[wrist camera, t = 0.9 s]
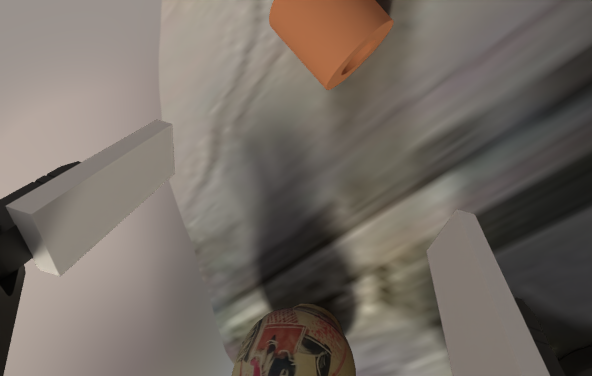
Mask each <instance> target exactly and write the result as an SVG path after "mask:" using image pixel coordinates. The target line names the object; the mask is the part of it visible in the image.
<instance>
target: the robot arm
mask: <svg viewBox="0 0 592 376" xmlns="http://www.w3.org/2000/svg"><path fill="white" fill-rule="evenodd" d="M174 174H175V164H174V146H173V129H172V124H170V123H167V122H164V121H160V120H155V121H153V122H152V123H150V124H148V125H146V126H145V127H143V128H141V129H139V130H137V131H136V132H134V133H132V134H131V135H129V136H127V137H125V138H124V139H122V140H120V141H118V142H116V143H115V144H113V145H111V146H109V147H108V148H106V149H104V150H102V151H101V152H99V153H97V154H95V155H94V156H92V157H91V158H88V159H87V160H85V161H83V162H79V161H77V162H74V163H71V164H67V165H64V166H61V167H59V168H57V169H55V170H54V171H52V172H50V173H48V174H47V176H42V177H41V178H39V179H37V180H36V181H35V182H31V183H30V184H28V185H26V186H24V187H22V188H21V189H19V190H17V191H15V192H13V193H11V194H9V195H8V196H6V197H4V198H2V199H0V376H3V374H4V370H5V365H6V361H7V356H8V351H9V347H10V342H11V337H12V333H13V328H14V324H15V319H16V314H17V310H18V305H19V301H20V296H21V291H22V287H23V282H24V277H25V267H24V264H25V263H26V262H28V261H29V260H30V259H31V258H33V259H34V261H35V263H36V265H37V267H38V269H39V270H42V271H45V272H48V273H51V274H54V275H56V276H61V275H62V274H64V273H65V272H66V271H67V270H68V269H69V268H70V267H71V266H73V264H75V263H76V262H77V261H78V260H79V259H80V258H81V257H82V256H84V255H85V254H86V253H87V252H88V251H89V250H90V249H91V248H92V247H94V246H95V245H96V244H97V243H98V242H99V241H100V240H101V239H103V238H104V237H105V236H106V235H107V234H108V233H109V232H110V231H111V230H113V229H114V228H115V227H116V226H117V225H118V224H119V223H120V222H122V221H123V220H124V218H126V217H127V216H128V215H129V214H130V213H131V212H133V211H134V210H135V209H136V208H137V207H138V206H139V205H140V204H141V203H143V202H144V201H145V200H146V199H147V198H148V197H149V196H150V195H151V194H153V193H154V192H155V191H156V190H157V189H158V188H159V187H160V186H162V185H163V183H165V182H166V181H167V180H168V179H169V178H170V177H172V176H173V175H174ZM427 256H428V261H429V265H430V270H431V275H432V280H433V284H434V289H435V294H436V298H437V303H438V308H439V312H440V317H441V322H442V327H443V331H444V336H445V341H446V345H447V350H448V355H449V360H450V364H451V369H452V374H453V376H592V346H591V347H587V348H584V349H581V350H578V351H575V352H573V353H571V354H569V355H567V356H565V357H564V358H562V359H561V360H560V361H558V360H557V358H556V356H555V354H554V352H553V350H552V348H550V347H549V345H550V344H549V342H548V340H547V338H546V336H545V334H543V333H542V332H543V330H542V328H541V326H540V324H539V322H538V321H537V319H536V317H535V315H534V314H533V312H532V311H531V310H530V309H529V308H528V306H527V305H526V304H525V303H524V302H523V300H522V299H518V298H515V297H513V295H512V293H511V291H510V289H509V287H508V285H507V283H506V280H505V278H504V276H503V274H502V272H501V270H500V268H499V265H498V263H497V261H496V259H495V257H494V255H493V253H492V251H491V248H490V246H489V244H488V242H487V240H486V238H485V236H484V233H483V231H482V229H481V227H480V225H479V223H478V221H477V219H476V216H475V214H472V213H469V212H465V211H462V210H458V209H456V211H455V212H454V214H453V215H452V216H451V218H450V219H449V221H448V222H447V223H446V225H445V226H444V227H443V229H442V230H441V232H440V233H439V234H438V236H437V237H436V239H435V240H434V241H433V243H432V244H431V246H430V247H429V248H428V250H427Z"/></svg>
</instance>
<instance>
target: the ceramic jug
mask: <svg viewBox="0 0 592 376" xmlns="http://www.w3.org/2000/svg"><path fill="white" fill-rule="evenodd" d="M260 319H261V318H260ZM232 376H356V368H355V363H354V359H353V354H352V351H351V349H350V346H349V344H348V341H347V339H346V338H345V336H344V335H343V333H342V328H341V326H340V323H339V321H338V320H337V319H336V318H335V317H334V316H333V315H332V314H331V313H330V312H329V311H327V310H326V309H324V308H321V307H319V306H317V305H314V304H306V303H303V304H298V305H296V306H294V307H292V308H283V309H279V310H275V311H273V312H271V313H269V314H267V315H266V316H264V317H263V318H262V319H261V320H259V321H258V322H257V323H256V324H255V325H254V327H253V328H252V329H251V330H250V332H249V334H248V335H247V337H246V339H245V341H244V342H243V343H242V347H241V349H240V351H239V353H238V356H237V359H236V362H235V365H234V368H233V372H232Z"/></svg>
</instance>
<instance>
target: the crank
mask: <svg viewBox="0 0 592 376" xmlns="http://www.w3.org/2000/svg"><path fill="white" fill-rule="evenodd" d="M269 22H270V26H271V27H272V29H273V30H274V31H275V32H276V33H277V34H278V35H279V37H280V38H281V39H282V40H283V41H284V42H285V43H286V44H287V46H288V47H289V48H290V49H291V50H292V51H293V52H294V53H295V55H296V56H297V57H298V58H299V59H300V60H301V61H302V63H303V64H304V65H305V66H306V67H307V68H308V69H309V70H310V72H311V73H312V74H313V75H314V76H315V77H316V78H317V79H318V81H319V82H320V83H321V84H322V85H323V86H324V87H325V88H326V90H330V89H332V88H334V87H335V86H337V85H338V84H340V83H341V82H342V81H343V80H345V79H346V78H347V77H348V76H349V75H350V74H352V73H353V72H354V71H355V70H356V69H357V68H358V67H359V66H360V65H361V64H362V63H363V62H364V61H365V60H366V58H367V57H368V56H369V55H370V54H371V53H372V52H373V51H374V50H375V49H376V48H377V47H378V45H379V44H380V43H381V42H382V41H383V39H384V38H385V37H386V35H387V34H388V32H389V31H390V29H391V27H392V25H393V20H392V19H391V18H390V16H389V15H388V14H387V13H386V12H385V11H384V10H383V9H382V7H381V6H380V5H379V4H378V3H377V2H376V1H375V0H274V1H273V4H272V7H271V10H270V16H269Z"/></svg>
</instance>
